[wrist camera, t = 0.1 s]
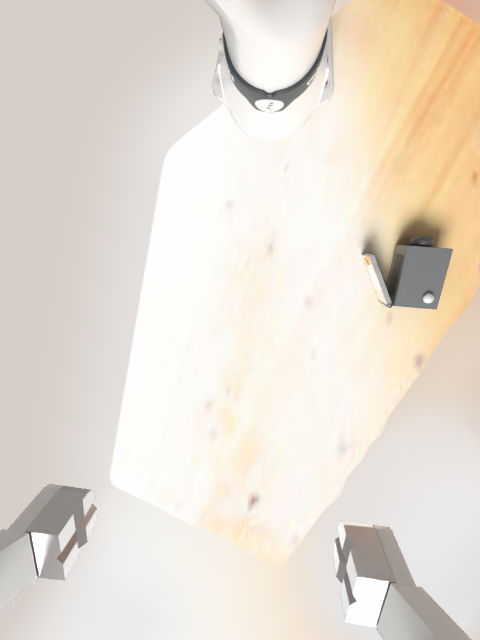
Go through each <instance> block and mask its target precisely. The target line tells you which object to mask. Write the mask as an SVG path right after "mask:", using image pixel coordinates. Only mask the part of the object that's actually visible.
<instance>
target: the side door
mask: <svg viewBox="0 0 480 640" xmlns="http://www.w3.org/2000/svg"><path fill="white" fill-rule="evenodd" d="M362 257H363V260H364V263H365V265H366V268H367V271H368V273H369V276H370V279H371V281H372V284H373V287H374V289H375V292H376V295H377V297H378V301H379V302H380V303H382V304H384V305H385V306H387V307H389V308H391V307H392V306H393V304H392V302H391V299H390V296H389V294H388V291H387V288H386V286H385V283H384V280H383V277H382V275H381V272H380V269H379V266H378V264H377V261H376V258H375V255H372V254H367V253H366V254H363V255H362Z"/></svg>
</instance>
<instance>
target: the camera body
mask: <svg viewBox="0 0 480 640" xmlns="http://www.w3.org/2000/svg"><path fill="white" fill-rule="evenodd" d="M433 239H434V238H430V237H418V236H414V237H410V240H409V244H408V245H396V246H395V251H394V255H393V260H392V265H391V269H390V274H389V278H388V283H387V291H388V294H389V296H390V299H391V302H392V304H393V305H394V306H403V307H415V308H427V309H437V306H438V302H439V299H440V295H441V291H442V288H443V284H444V280H445V277H446V273H447V269H448V266H449V262H450V258H451V255H452V251H453V249H448V248H437V247H432V243H433Z"/></svg>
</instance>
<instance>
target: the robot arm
mask: <svg viewBox="0 0 480 640" xmlns="http://www.w3.org/2000/svg"><path fill="white" fill-rule="evenodd" d="M205 1H206V2H207V3H208V4H209V5H210V6H211V7H212V8H213V10H214V11H215V12H216V13H217V15H218V16H219V19H220V22H221V26H222V28H223V35H222V39H219V44H218V50H219V55H218V60H217V65H216V70H215V75H214V80H213V92H214V94H215V96H216V97H217V98H218V99H219V100H220V101H221V102H222V103H223V104H225V105H226V106H227V108H228V109H229V111H230V113H231V115H232V117H233V119H234V121H235V122H236V124H237V125H238V126H239V127H240V129H241V130H242V131H243V132H245V133H246V134H247V135H249V136H250V137H252V138H254V139H257V140H260V141H267V142H272V141H279V140H282V139H285V138H287V137H289V136H291V135H293V134H294V133H296V132H297V131H298V130H299V129H300V128H301V127H302V126H303V125H304V124H305V123H306V121H307V120H308V119H309V117H310V116H311V114H312V113H313V112H314V111H315V110H316V109H318V108H319V107H321V106H322V105H324V104H325V103H326V102H328V101H329V100H330V98H331V96H332V93H333V70H332V40H331V14H332V10H333V7H334V4H335V0H205ZM326 82H327V85H325V83H326ZM95 499H96V496H95V491H93V490H87V489H81V488H75V487H69V486H62V485H55V484H49V485H47V486H46V487H44V488H43V490H42V491H41V492H40V493H39V494H38V495H37V496H36V498H35V499H34V500H33V501H32V502H31V503H30V505H29V506H28V507H27V508H26V509H25V510H24V511H23V512H22V514H21V515H20V516H19V517H18V518H17V519H16V520H15V522H14V523H13V524H12V525H11V526H10V528H9V529H8V530H4V529H3V530H1V531H0V611H1V610H3V609H4V608H5V607H6V606H7V605H8V604H10V603H11V602H12V601H13V600H14V599H15V598H17V597H18V596H19V595H20V594H21V593H22V592H24V590H26V589H27V588H28V587H29V586H30V585H32V584H33V583H34V582H35V581H36V580H37V577H38V578H48V579H57V580H66V578H67V576H68V575H69V573H70V571H71V569H72V568H73V566H74V564H75V563H76V561H77V559H78V557H79V550H78V549H79V548H80V547H81V546H83V545H84V544H85V543H87V542H88V540H89V538H90V536H91V534H92V533H93V530H94V527H95V524H96V520H97V508H96V507H95V506H94V505H93V502H94V500H95ZM337 531H338V535H339V537H338V538H337V539H335V543H334V548H333V551H334V552H333V559H334V567H335V572H336V577H337V578H338V579H339V581H340V582H341V583H342V587H341V591H340V596H341V601H342V606H343V611H344V615H345V619H346V622H351V623H356V624H362V625H367V626H373V627H377V631H378V632H379V634H380V636H381V637H382V639H383V640H471V639H470V638H469V636H468V635H467V634H466V633H465V632H464V631H463V630H462V629H461V628H460V627H459V626H458V625H457V624H456V623H455V622H454V621H453V620H452V619H451V618H450V617H449V616H448V615H447V613H445V612H444V610H443V609H442V608H441V607H440V606H439V605H438V604H437V603H436V602H435V601H434V600H433V599H432V598H431V597H430V596H429V595H428V594H427V593H426V591H425V590H424V589H423V588H422V587H418V586H416V585H415V582H414V580H413V578H412V576H411V573H410V571H409V569H408V566H407V564H406V562H405V559H404V557H403V555H402V553H401V550H400V548H399V546H398V543H397V541H396V539H395V536H394V534H393V532H392V530H391V529H390V528H389V527H384V526H376V525H371V524H362V523H353V522H345V521H340V522H339V524H338V528H337Z"/></svg>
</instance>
